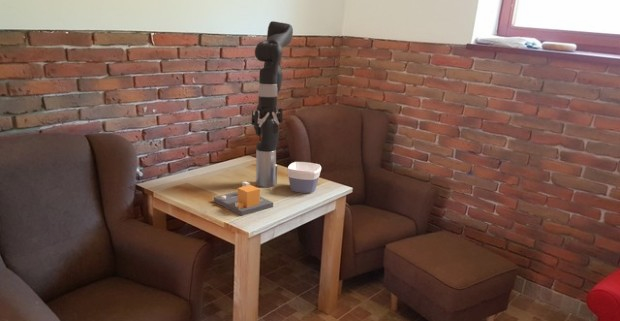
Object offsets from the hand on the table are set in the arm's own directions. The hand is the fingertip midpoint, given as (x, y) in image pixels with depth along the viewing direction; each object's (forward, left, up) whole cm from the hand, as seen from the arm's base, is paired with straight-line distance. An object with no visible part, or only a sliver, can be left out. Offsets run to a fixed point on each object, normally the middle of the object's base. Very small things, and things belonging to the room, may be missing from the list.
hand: (267, 134), depth 187 cm
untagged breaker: (+3, -10, -28) cm, 30 cm away
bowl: (-26, -4, -30) cm, 40 cm away
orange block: (+9, 0, -28) cm, 29 cm away
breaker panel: (+8, -5, -30) cm, 32 cm away
